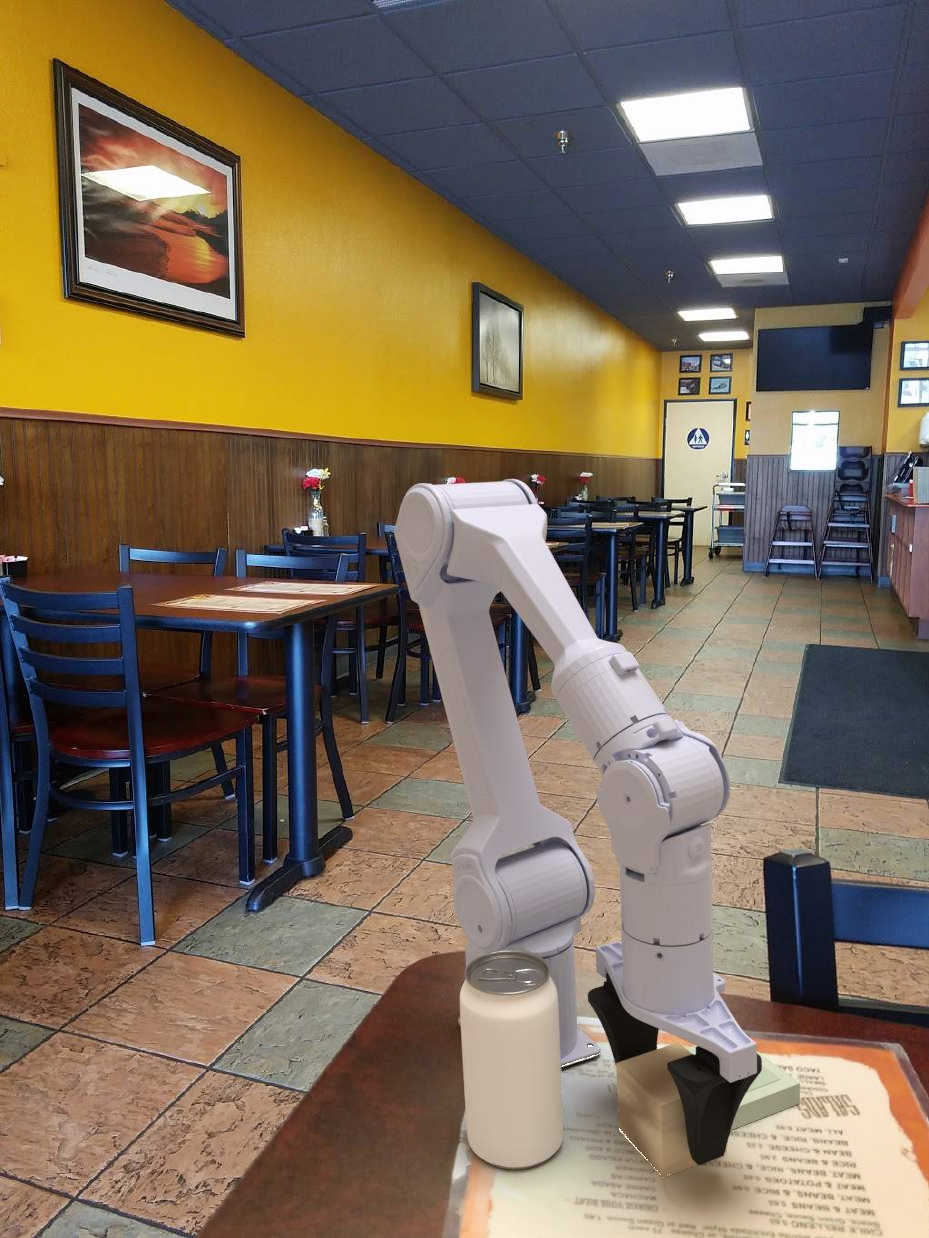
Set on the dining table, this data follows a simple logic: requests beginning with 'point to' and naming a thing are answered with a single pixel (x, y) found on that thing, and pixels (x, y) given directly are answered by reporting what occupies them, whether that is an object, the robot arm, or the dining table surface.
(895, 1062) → the dining table surface
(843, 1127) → the dining table surface
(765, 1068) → the base
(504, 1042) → the can
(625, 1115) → the block
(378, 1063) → the dining table surface
